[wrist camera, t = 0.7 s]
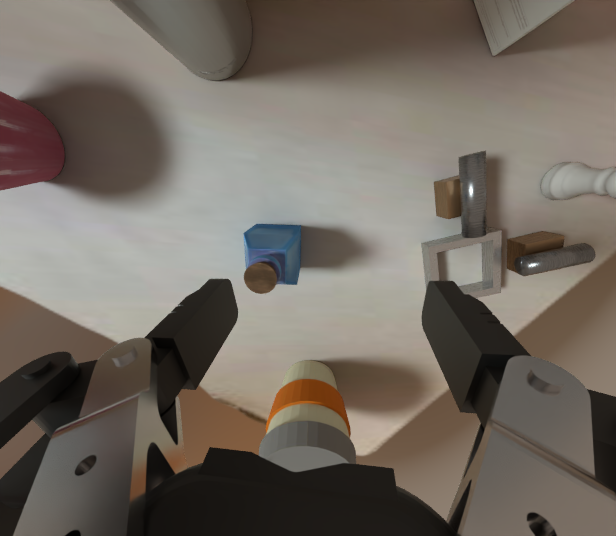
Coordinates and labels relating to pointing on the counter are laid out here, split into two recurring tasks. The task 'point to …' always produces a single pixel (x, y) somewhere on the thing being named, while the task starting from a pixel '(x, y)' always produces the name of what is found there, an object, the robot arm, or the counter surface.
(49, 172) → the plant pot
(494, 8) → the supplement box
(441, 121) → the counter surface
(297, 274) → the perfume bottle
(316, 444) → the reusable coffee cup
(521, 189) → the counter surface
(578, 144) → the counter surface
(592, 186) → the rook chess piece
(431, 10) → the counter surface
